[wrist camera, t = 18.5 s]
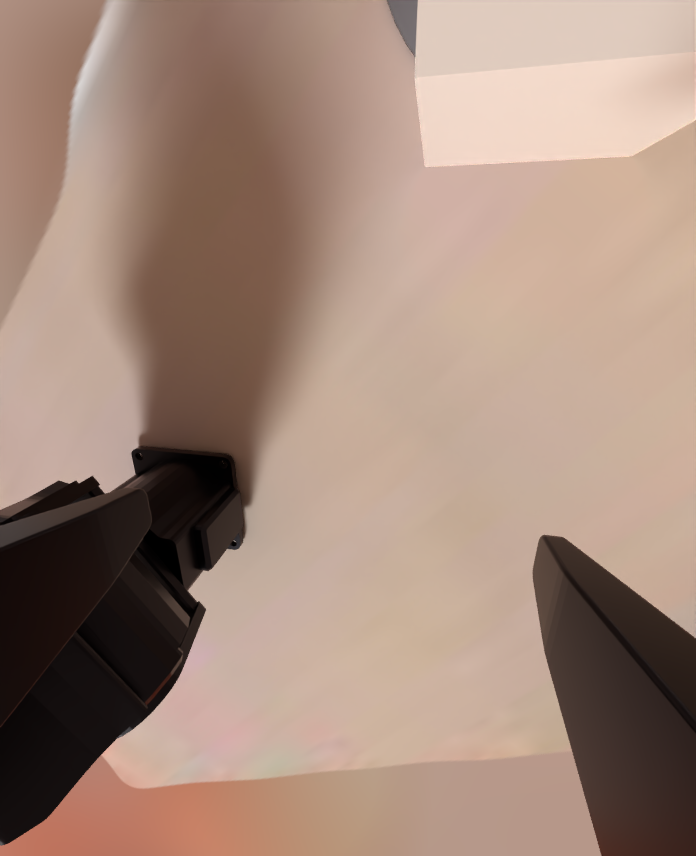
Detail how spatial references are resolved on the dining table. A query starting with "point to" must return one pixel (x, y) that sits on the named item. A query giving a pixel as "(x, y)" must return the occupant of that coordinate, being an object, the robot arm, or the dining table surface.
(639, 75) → the white block
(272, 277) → the dining table surface
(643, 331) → the dining table surface
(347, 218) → the dining table surface
